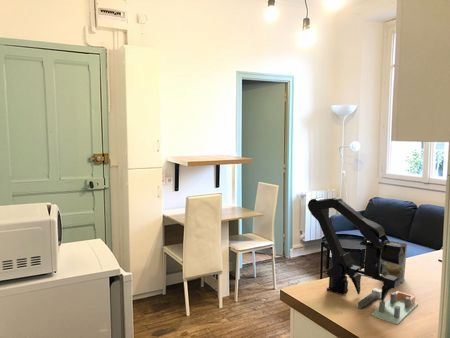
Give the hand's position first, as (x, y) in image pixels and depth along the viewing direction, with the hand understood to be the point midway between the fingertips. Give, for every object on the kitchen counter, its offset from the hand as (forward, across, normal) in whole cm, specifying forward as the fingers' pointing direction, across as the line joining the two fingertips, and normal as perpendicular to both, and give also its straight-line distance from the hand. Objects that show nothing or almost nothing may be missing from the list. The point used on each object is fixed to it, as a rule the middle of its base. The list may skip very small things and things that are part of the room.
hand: (370, 297), depth 142 cm
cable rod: (+1, 0, +1) cm, 2 cm away
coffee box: (+2, +2, -30) cm, 30 cm away
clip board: (+1, -10, +1) cm, 10 cm away
